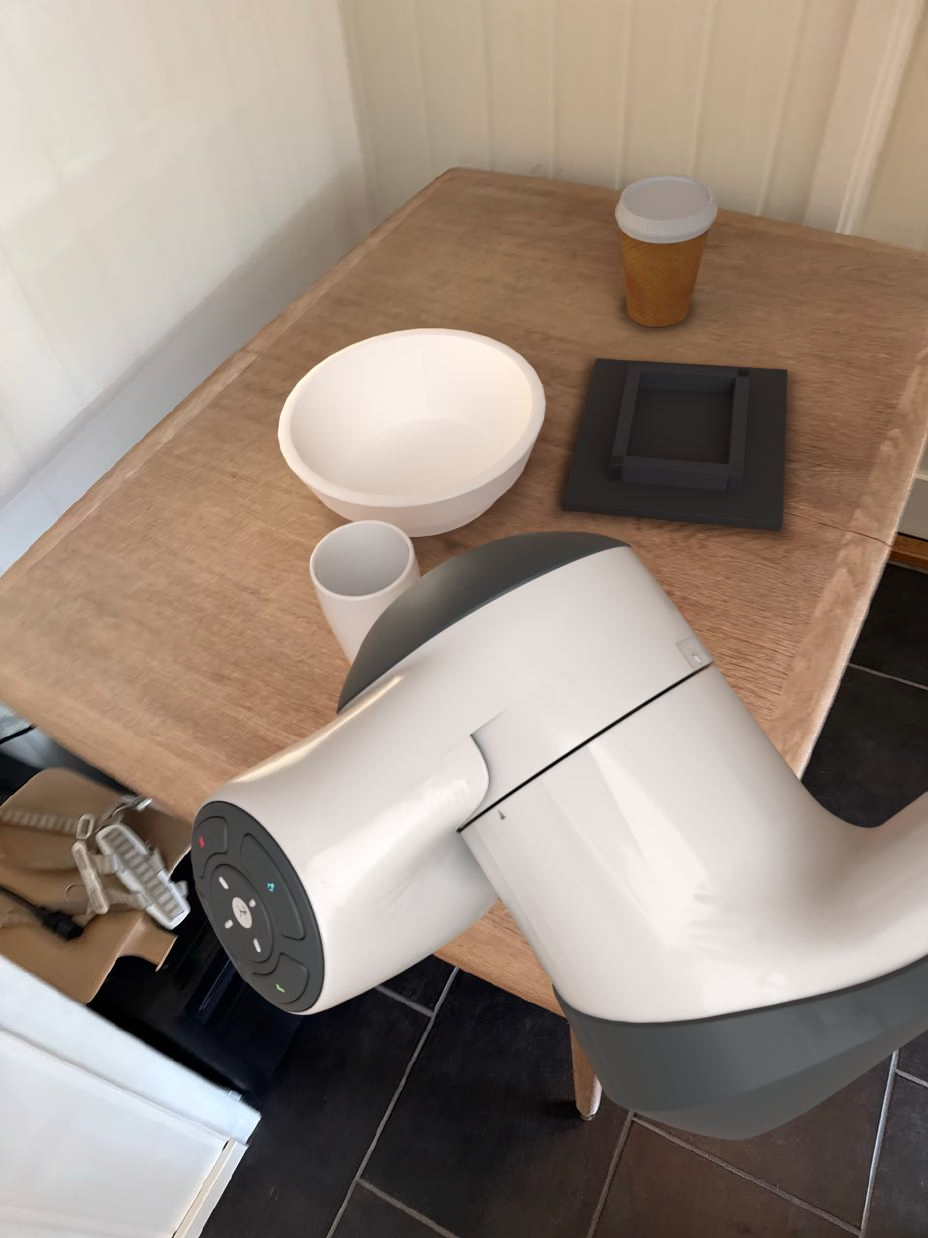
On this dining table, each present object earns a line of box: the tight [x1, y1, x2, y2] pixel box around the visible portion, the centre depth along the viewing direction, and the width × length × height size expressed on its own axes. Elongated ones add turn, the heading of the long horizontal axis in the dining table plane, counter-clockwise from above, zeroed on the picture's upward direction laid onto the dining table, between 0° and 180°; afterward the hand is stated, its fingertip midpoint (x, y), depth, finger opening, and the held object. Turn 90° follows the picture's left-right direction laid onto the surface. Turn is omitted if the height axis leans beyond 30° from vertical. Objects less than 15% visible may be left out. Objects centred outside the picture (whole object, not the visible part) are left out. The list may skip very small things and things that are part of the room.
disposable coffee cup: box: [614, 173, 718, 328], centre depth 87 cm, size 10×10×12 cm
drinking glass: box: [308, 520, 422, 667], centre depth 60 cm, size 7×7×15 cm
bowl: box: [277, 327, 547, 538], centre depth 76 cm, size 22×22×8 cm
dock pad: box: [561, 357, 789, 532], centre depth 78 cm, size 18×20×3 cm
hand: (638, 697), depth 51 cm, fingers open, 8 cm apart
